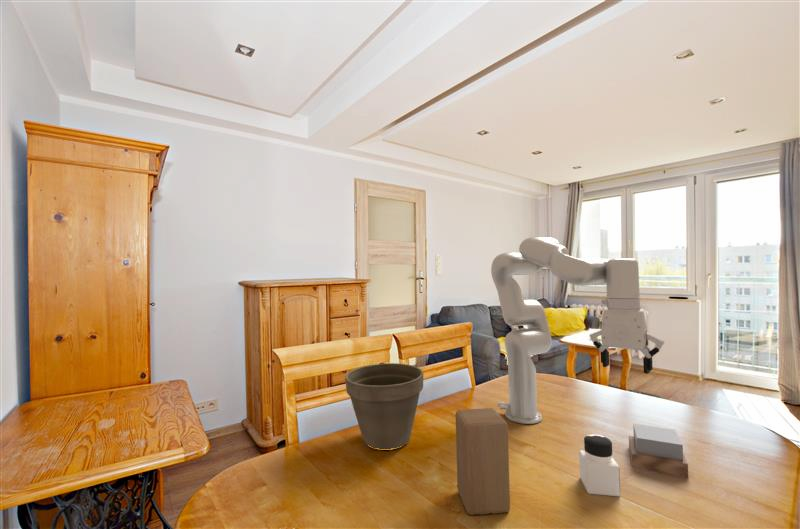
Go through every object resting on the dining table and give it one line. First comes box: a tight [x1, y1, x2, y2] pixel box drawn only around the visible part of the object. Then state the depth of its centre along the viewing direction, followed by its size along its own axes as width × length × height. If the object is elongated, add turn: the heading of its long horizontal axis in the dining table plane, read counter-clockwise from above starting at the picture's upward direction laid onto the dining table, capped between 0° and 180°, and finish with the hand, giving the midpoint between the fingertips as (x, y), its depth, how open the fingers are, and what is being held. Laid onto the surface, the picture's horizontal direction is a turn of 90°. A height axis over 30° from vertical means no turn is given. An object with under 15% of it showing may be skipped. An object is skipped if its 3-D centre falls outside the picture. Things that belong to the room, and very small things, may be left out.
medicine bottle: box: [578, 433, 621, 497], centre depth 91 cm, size 7×7×12 cm
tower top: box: [632, 423, 684, 460], centre depth 102 cm, size 10×10×4 cm
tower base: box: [628, 435, 689, 479], centre depth 102 cm, size 12×12×4 cm
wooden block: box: [455, 407, 511, 516], centre depth 86 cm, size 10×10×20 cm
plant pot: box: [344, 362, 424, 449], centre depth 118 cm, size 25×25×22 cm
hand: (625, 369), depth 98 cm, fingers open, 9 cm apart
